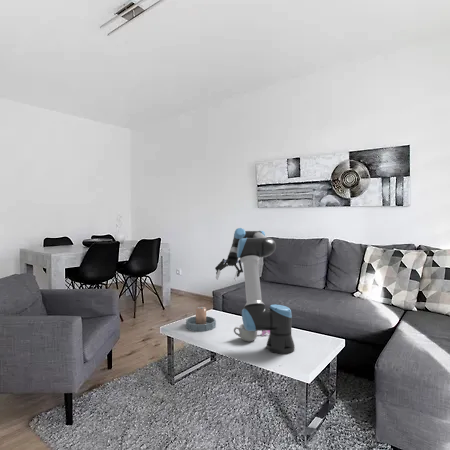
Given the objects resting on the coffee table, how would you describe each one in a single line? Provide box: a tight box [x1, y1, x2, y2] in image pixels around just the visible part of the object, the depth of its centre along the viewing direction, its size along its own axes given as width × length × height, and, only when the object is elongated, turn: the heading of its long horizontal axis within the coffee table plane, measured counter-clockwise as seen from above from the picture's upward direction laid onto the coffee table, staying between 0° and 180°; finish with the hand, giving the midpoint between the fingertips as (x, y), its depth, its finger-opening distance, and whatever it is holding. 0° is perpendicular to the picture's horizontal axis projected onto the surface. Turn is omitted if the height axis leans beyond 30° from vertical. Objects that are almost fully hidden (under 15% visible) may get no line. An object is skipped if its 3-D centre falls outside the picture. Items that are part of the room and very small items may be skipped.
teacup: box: [233, 323, 258, 342], centre depth 200 cm, size 14×11×8 cm
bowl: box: [185, 315, 217, 332], centre depth 224 cm, size 19×19×4 cm
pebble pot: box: [195, 306, 207, 325], centre depth 224 cm, size 7×7×12 cm
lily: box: [261, 330, 270, 337], centre depth 210 cm, size 12×12×10 cm
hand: (225, 279), depth 231 cm, fingers open, 13 cm apart
